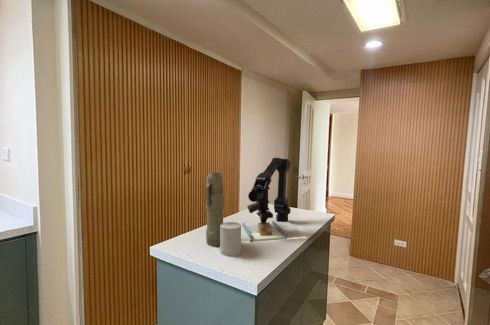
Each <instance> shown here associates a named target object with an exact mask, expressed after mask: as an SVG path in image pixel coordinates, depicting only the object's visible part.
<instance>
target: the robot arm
mask: <svg viewBox="0 0 490 325" xmlns="http://www.w3.org/2000/svg"><path fill="white" fill-rule="evenodd" d="M290 168H291V160H290V159H288V158H280V157H273V158H271V161H270V163H269V164H268V165H267V167H266V168H265V170H264V171H263V172H261V173H259V174H258V175H257V176H256V177H255V180H254V183H253V185H252V188H251V191H250V192H248V194H247V195H248V196H247V197H248V200H249V201H250V202H252V203H251V204H249V205H247V207H246V208H247V210H248V212H249V214H253V213H255V212H256V211H257V212H256V215H257V216H258V217H259V220H260V223H265V222H267V221H268V220H269V219H274V214H273V213H272V211H271V210H270V208H269V204H270V200H269V190H270V189H271V188H270V185H271V183H272V177H273V175H274V173H275V172H276V171H277V173H278V181H277V197H275V199H274V200H273V202H274V203H273V210H274V213H276V215H275V218H276V220H275V221H276V223H277V222H280V223H286V222H289V215H290V214H291V210H292V209H291V207H290V206H289V201H288V199H287V197H286V193H287V192H286V191H287V176H288V175H287V174H288V172H289V171H290Z"/></svg>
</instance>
